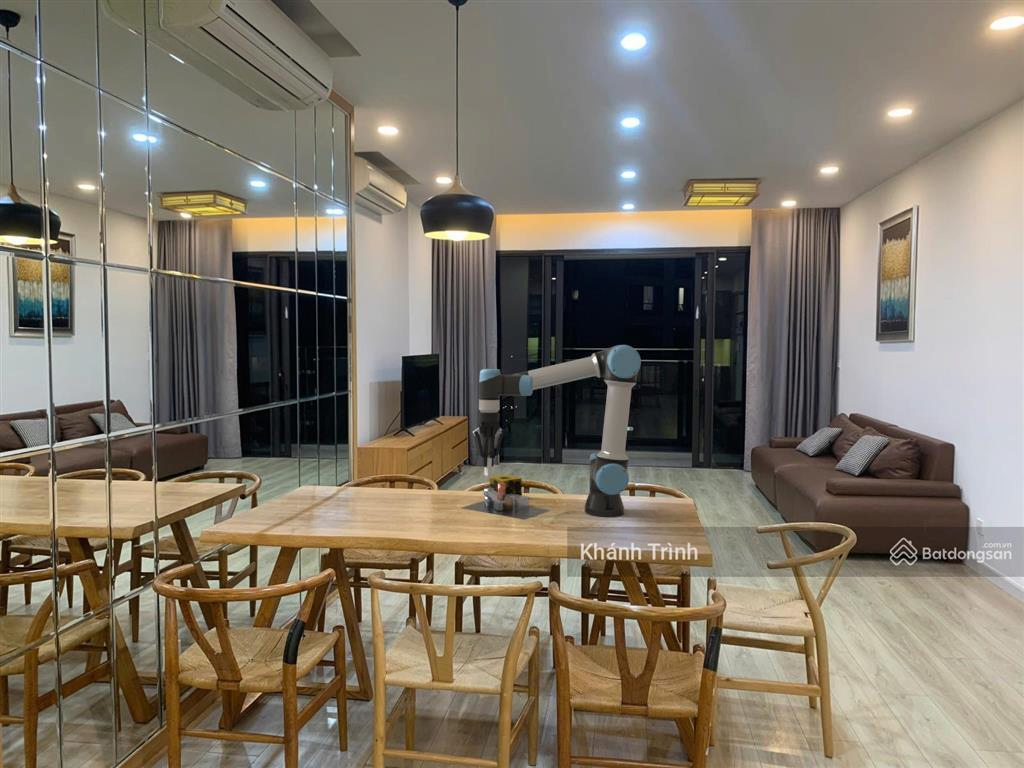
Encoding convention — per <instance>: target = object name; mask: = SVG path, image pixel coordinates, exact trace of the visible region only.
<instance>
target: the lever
mask: <svg viewBox="0 0 1024 768" xmlns="http://www.w3.org/2000/svg"><path fill="white" fill-rule="evenodd" d="M483 496H484V497H485V496H489V497H491V498H492V499H493V501H494V508H495V509H496V510H503V503H505V483H498V493H497V492H496V491H494V488H490V487H484V488H483Z"/></svg>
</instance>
